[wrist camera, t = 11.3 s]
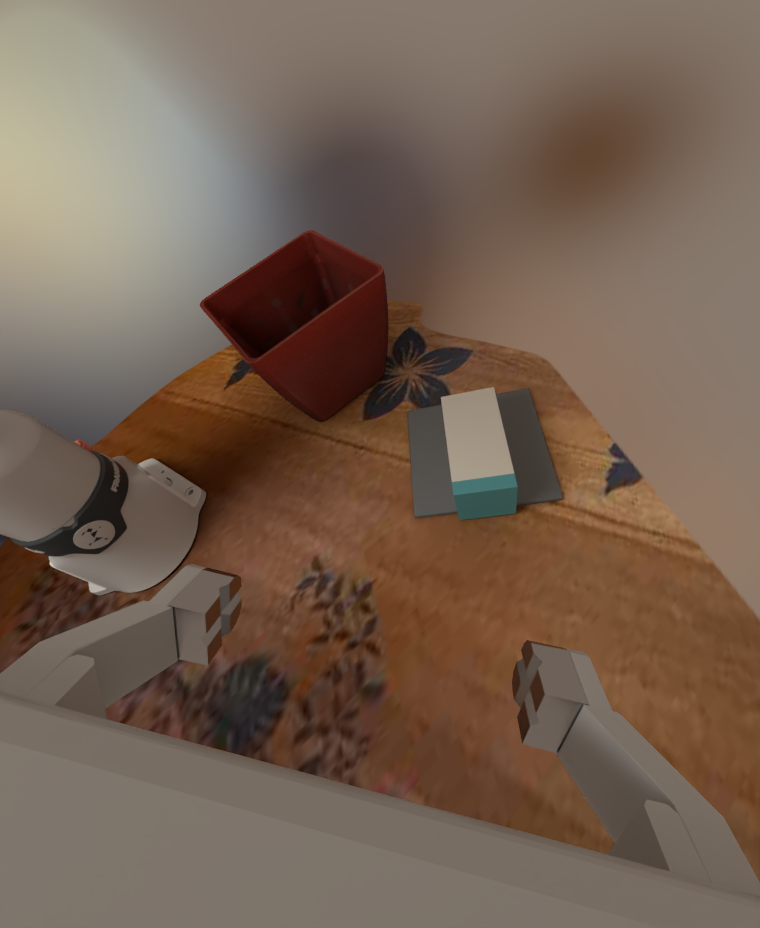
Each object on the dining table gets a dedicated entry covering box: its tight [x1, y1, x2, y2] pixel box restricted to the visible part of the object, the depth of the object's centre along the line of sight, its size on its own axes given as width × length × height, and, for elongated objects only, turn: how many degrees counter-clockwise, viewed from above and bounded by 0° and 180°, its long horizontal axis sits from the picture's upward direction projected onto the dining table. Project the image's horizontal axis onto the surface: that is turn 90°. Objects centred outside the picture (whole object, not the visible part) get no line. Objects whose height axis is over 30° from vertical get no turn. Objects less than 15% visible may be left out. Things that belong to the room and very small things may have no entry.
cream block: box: [441, 387, 518, 520], centre depth 42 cm, size 6×6×13 cm
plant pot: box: [200, 230, 388, 422], centre depth 54 cm, size 19×19×17 cm
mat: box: [407, 388, 563, 518], centre depth 46 cm, size 16×16×1 cm
